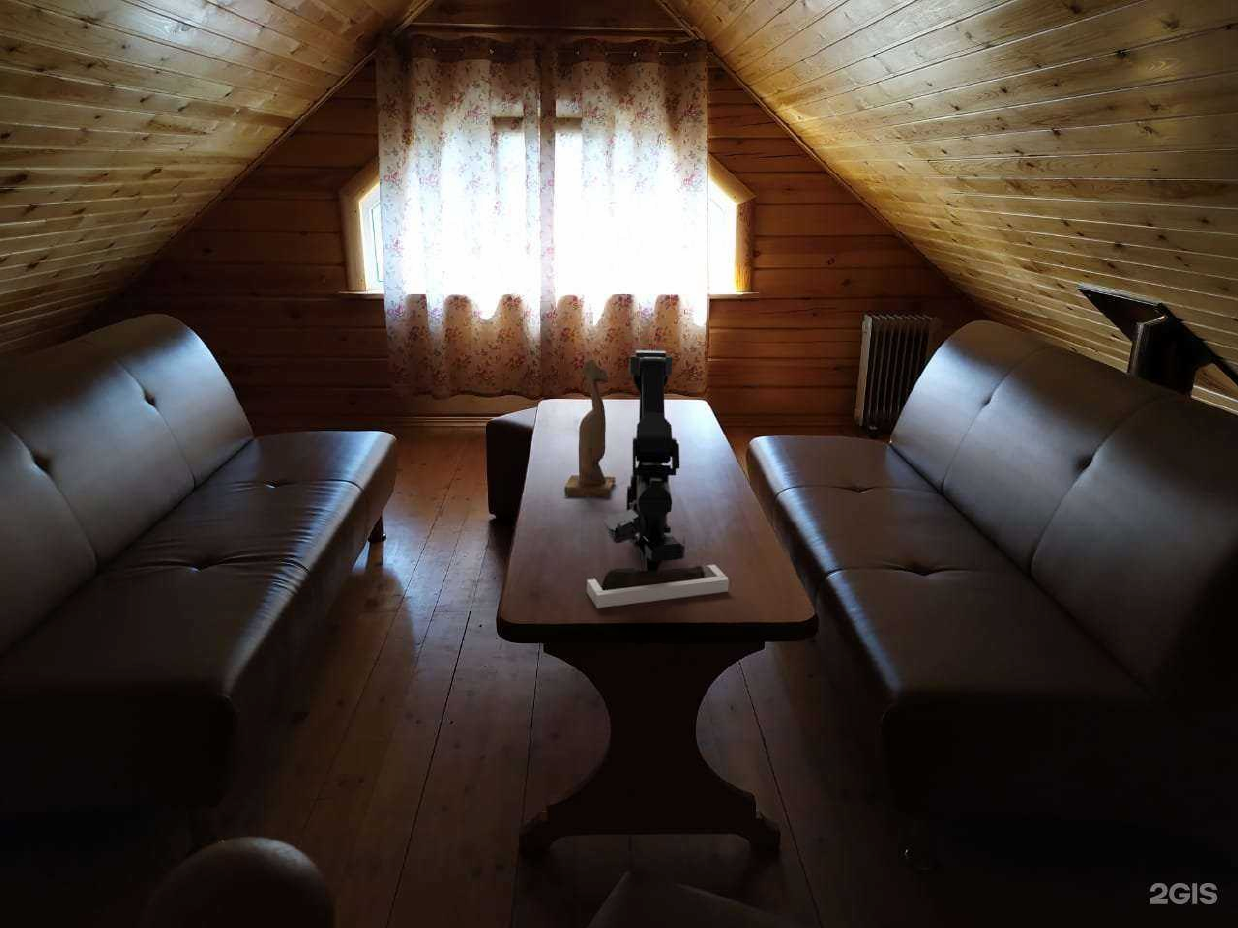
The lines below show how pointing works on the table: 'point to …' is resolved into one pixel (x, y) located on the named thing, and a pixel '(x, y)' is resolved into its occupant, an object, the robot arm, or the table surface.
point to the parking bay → (658, 590)
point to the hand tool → (649, 577)
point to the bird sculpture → (591, 443)
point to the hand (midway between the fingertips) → (649, 576)
